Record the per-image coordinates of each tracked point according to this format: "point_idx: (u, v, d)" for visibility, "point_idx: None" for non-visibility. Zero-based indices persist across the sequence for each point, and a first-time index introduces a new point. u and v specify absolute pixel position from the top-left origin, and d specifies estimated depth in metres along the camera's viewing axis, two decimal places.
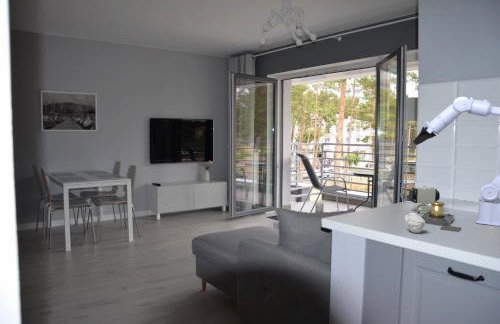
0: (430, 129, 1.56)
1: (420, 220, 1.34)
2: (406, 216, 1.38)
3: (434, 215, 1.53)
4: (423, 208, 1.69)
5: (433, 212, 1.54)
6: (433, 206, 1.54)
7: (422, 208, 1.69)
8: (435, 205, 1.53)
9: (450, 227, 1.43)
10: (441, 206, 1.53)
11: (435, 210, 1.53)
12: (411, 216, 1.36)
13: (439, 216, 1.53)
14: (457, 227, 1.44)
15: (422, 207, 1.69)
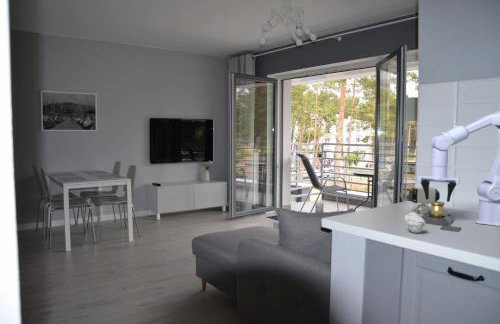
0: (459, 180, 1.50)
1: (420, 220, 1.34)
2: (406, 216, 1.38)
3: (434, 215, 1.53)
4: (423, 208, 1.69)
5: (433, 212, 1.54)
6: (433, 206, 1.54)
7: (422, 208, 1.69)
8: (435, 205, 1.53)
9: (450, 227, 1.43)
10: (441, 206, 1.53)
11: (435, 210, 1.53)
12: (411, 216, 1.36)
13: (439, 216, 1.53)
14: (457, 227, 1.44)
15: (422, 207, 1.69)
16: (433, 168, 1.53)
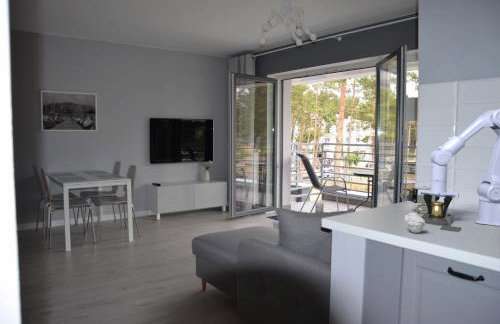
0: (458, 195, 1.50)
1: (420, 220, 1.34)
2: (406, 216, 1.38)
3: (434, 215, 1.53)
4: (423, 208, 1.69)
5: (433, 212, 1.54)
6: (433, 206, 1.54)
7: (422, 208, 1.69)
8: (435, 205, 1.53)
9: (450, 227, 1.43)
10: (441, 206, 1.53)
11: (435, 210, 1.53)
12: (411, 216, 1.36)
13: (439, 216, 1.53)
14: (457, 227, 1.44)
15: (422, 207, 1.69)
16: (432, 183, 1.53)
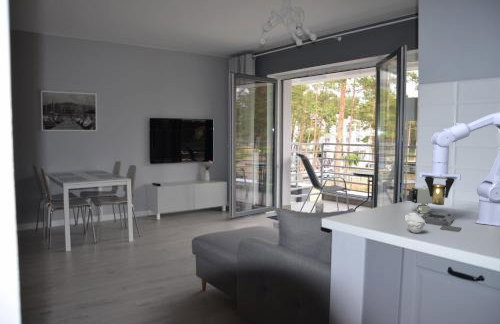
0: (460, 176, 1.49)
1: (420, 220, 1.34)
2: (406, 216, 1.38)
3: (435, 197, 1.52)
4: (423, 208, 1.69)
5: (434, 194, 1.53)
6: (434, 188, 1.52)
7: (422, 208, 1.69)
8: (437, 187, 1.52)
9: (450, 227, 1.43)
10: (443, 188, 1.51)
11: (436, 193, 1.52)
12: (411, 216, 1.36)
13: (440, 198, 1.51)
14: (457, 227, 1.44)
15: (422, 207, 1.69)
16: (434, 165, 1.52)
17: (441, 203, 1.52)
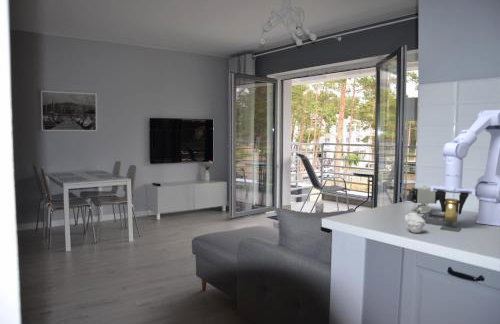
0: (475, 191, 1.37)
1: (420, 220, 1.34)
2: (406, 216, 1.38)
3: (448, 214, 1.41)
4: (423, 208, 1.69)
5: (447, 211, 1.41)
6: (448, 204, 1.41)
7: (422, 208, 1.69)
8: (450, 203, 1.40)
9: (450, 227, 1.43)
10: (456, 204, 1.40)
11: (450, 209, 1.41)
12: (411, 216, 1.36)
13: (454, 215, 1.41)
14: (457, 227, 1.44)
15: (422, 207, 1.69)
16: (447, 178, 1.40)
17: (455, 220, 1.41)
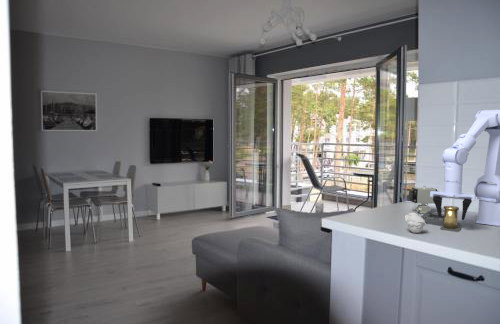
0: (475, 197, 1.38)
1: (420, 220, 1.34)
2: (406, 216, 1.38)
3: (448, 221, 1.42)
4: (423, 208, 1.69)
5: (447, 218, 1.42)
6: (447, 211, 1.42)
7: (422, 208, 1.69)
8: (449, 210, 1.41)
9: None
10: (456, 211, 1.41)
11: (449, 216, 1.41)
12: (411, 216, 1.36)
13: (454, 222, 1.41)
14: (457, 227, 1.44)
15: (422, 207, 1.69)
16: (446, 184, 1.41)
17: (454, 227, 1.41)
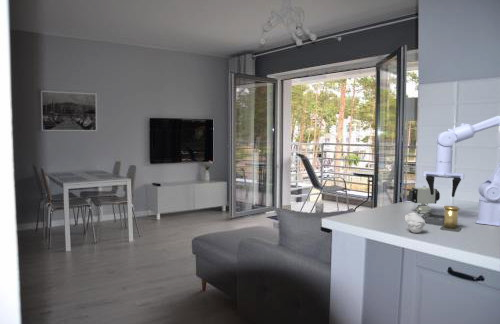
0: (463, 175, 1.52)
1: (420, 220, 1.34)
2: (406, 216, 1.38)
3: (448, 221, 1.42)
4: (423, 208, 1.69)
5: (447, 217, 1.42)
6: (447, 211, 1.42)
7: (422, 208, 1.69)
8: (449, 210, 1.41)
9: None
10: (456, 211, 1.41)
11: (449, 216, 1.41)
12: (411, 216, 1.36)
13: (454, 221, 1.41)
14: (457, 227, 1.44)
15: (422, 207, 1.69)
16: (438, 164, 1.55)
17: (454, 227, 1.41)
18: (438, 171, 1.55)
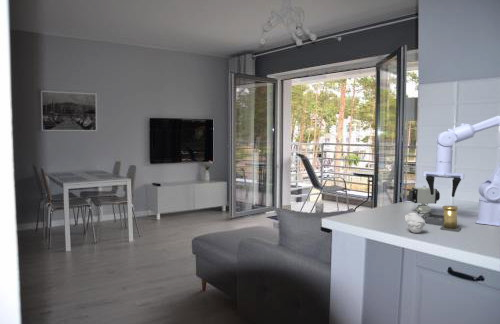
0: (463, 175, 1.52)
1: (420, 220, 1.34)
2: (406, 216, 1.38)
3: (447, 221, 1.42)
4: (423, 208, 1.69)
5: (446, 217, 1.42)
6: (446, 211, 1.42)
7: (422, 208, 1.69)
8: (448, 210, 1.41)
9: None
10: (455, 211, 1.41)
11: (448, 216, 1.41)
12: (411, 216, 1.36)
13: (453, 221, 1.41)
14: (457, 227, 1.44)
15: (422, 207, 1.69)
16: (438, 164, 1.55)
17: (454, 226, 1.41)
18: (438, 171, 1.55)
